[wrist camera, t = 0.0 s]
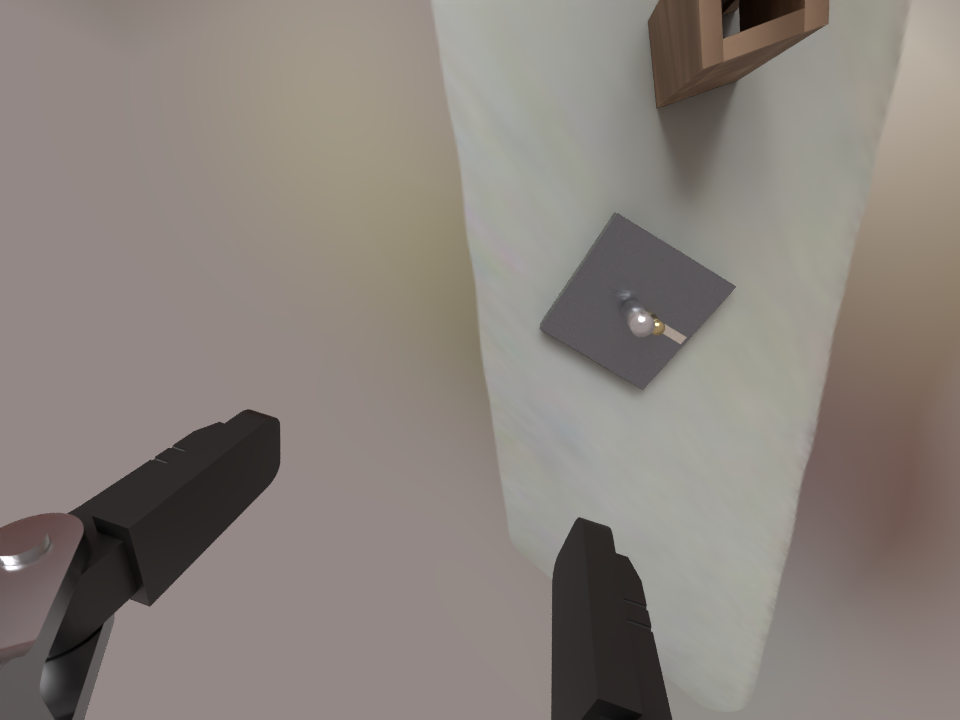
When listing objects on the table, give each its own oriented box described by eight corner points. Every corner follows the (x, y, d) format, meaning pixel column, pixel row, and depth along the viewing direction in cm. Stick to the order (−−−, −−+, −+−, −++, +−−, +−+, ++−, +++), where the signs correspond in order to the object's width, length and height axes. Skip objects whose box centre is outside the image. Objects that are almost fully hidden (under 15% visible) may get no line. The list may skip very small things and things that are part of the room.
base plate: (540, 323, 37) (537, 347, 32) (614, 212, 32) (628, 216, 26) (639, 382, 38) (655, 416, 32) (728, 282, 33) (766, 301, 27)
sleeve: (656, 108, 29) (702, 69, 20) (647, 21, 27) (694, -66, 18) (738, 79, 27) (828, 23, 18) (735, -15, 25) (834, -130, 16)
